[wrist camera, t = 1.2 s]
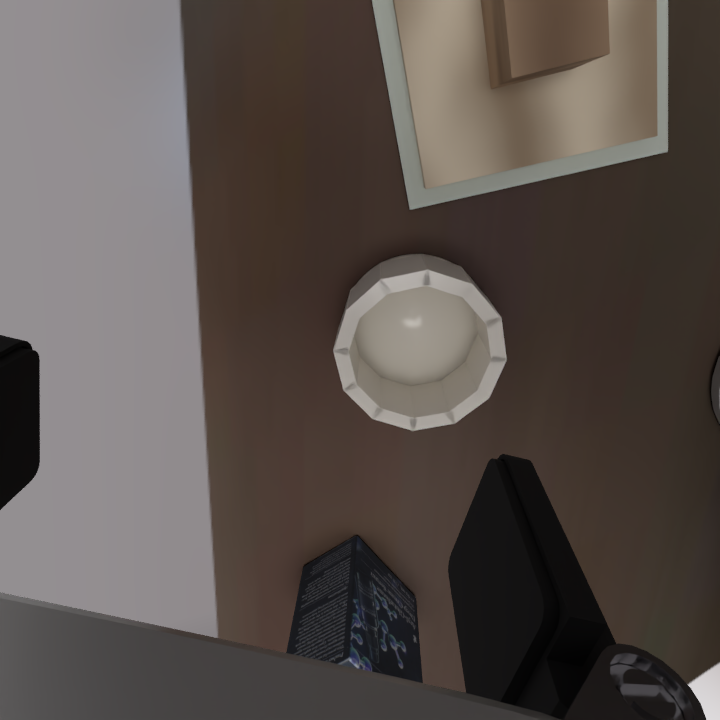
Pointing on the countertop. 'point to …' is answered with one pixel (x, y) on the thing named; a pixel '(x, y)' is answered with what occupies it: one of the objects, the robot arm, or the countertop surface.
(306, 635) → the box
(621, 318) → the countertop surface
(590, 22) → the lid
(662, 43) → the mat
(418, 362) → the bowl
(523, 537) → the robot arm
